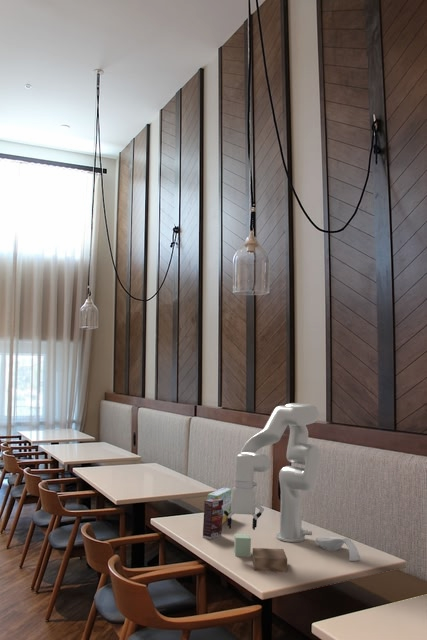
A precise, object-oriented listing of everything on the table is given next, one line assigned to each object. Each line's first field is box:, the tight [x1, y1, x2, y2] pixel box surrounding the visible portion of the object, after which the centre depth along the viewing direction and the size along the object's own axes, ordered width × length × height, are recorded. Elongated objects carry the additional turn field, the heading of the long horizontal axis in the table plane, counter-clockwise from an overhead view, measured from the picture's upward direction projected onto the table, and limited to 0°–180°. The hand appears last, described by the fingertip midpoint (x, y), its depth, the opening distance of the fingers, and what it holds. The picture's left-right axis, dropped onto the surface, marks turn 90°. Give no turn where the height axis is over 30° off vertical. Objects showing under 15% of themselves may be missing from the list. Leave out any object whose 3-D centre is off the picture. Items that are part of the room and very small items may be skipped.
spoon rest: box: [315, 536, 361, 562], centre depth 232 cm, size 24×12×7 cm, turn 23°
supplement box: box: [202, 498, 223, 540], centre depth 249 cm, size 9×5×16 cm, turn 143°
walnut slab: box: [251, 547, 288, 573], centre depth 211 cm, size 12×12×5 cm
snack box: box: [206, 487, 233, 524], centre depth 274 cm, size 21×6×15 cm, turn 159°
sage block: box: [233, 533, 252, 557], centre depth 225 cm, size 6×6×7 cm
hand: (241, 528), depth 225 cm, fingers open, 9 cm apart
